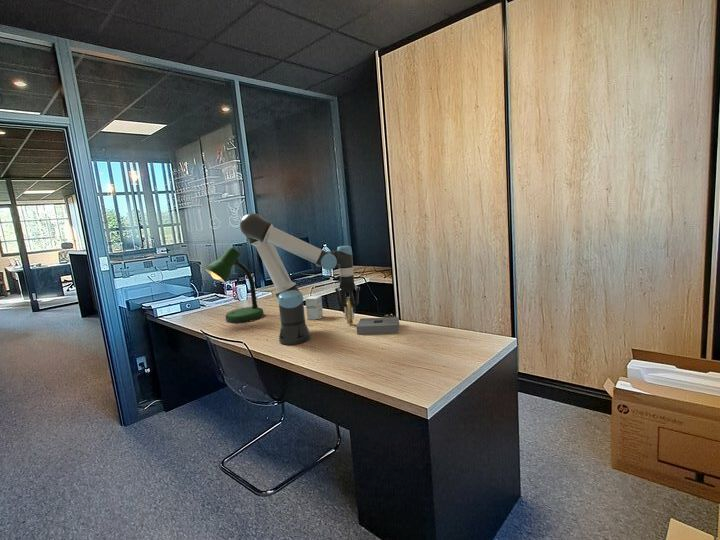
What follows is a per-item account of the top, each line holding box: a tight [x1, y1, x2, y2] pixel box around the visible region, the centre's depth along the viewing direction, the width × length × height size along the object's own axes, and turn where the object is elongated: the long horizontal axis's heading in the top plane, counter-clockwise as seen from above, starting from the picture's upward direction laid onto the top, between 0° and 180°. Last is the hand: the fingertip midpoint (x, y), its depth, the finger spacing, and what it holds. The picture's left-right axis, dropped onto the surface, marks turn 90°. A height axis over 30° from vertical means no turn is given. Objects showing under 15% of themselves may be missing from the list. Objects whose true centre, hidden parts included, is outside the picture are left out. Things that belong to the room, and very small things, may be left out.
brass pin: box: [345, 296, 354, 325], centre depth 199 cm, size 3×3×14 cm
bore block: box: [356, 316, 400, 335], centre depth 188 cm, size 14×20×4 cm
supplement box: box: [305, 295, 324, 320], centre depth 219 cm, size 7×7×13 cm
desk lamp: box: [204, 246, 265, 324], centre depth 228 cm, size 31×23×45 cm
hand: (349, 318), depth 200 cm, fingers closed on brass pin, 3 cm apart
